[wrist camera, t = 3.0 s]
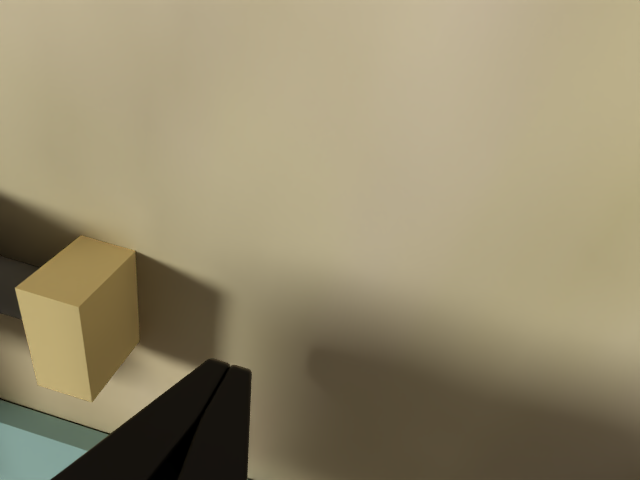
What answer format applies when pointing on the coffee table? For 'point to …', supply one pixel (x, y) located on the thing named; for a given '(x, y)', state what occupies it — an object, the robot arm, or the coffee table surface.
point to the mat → (39, 443)
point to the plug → (75, 313)
